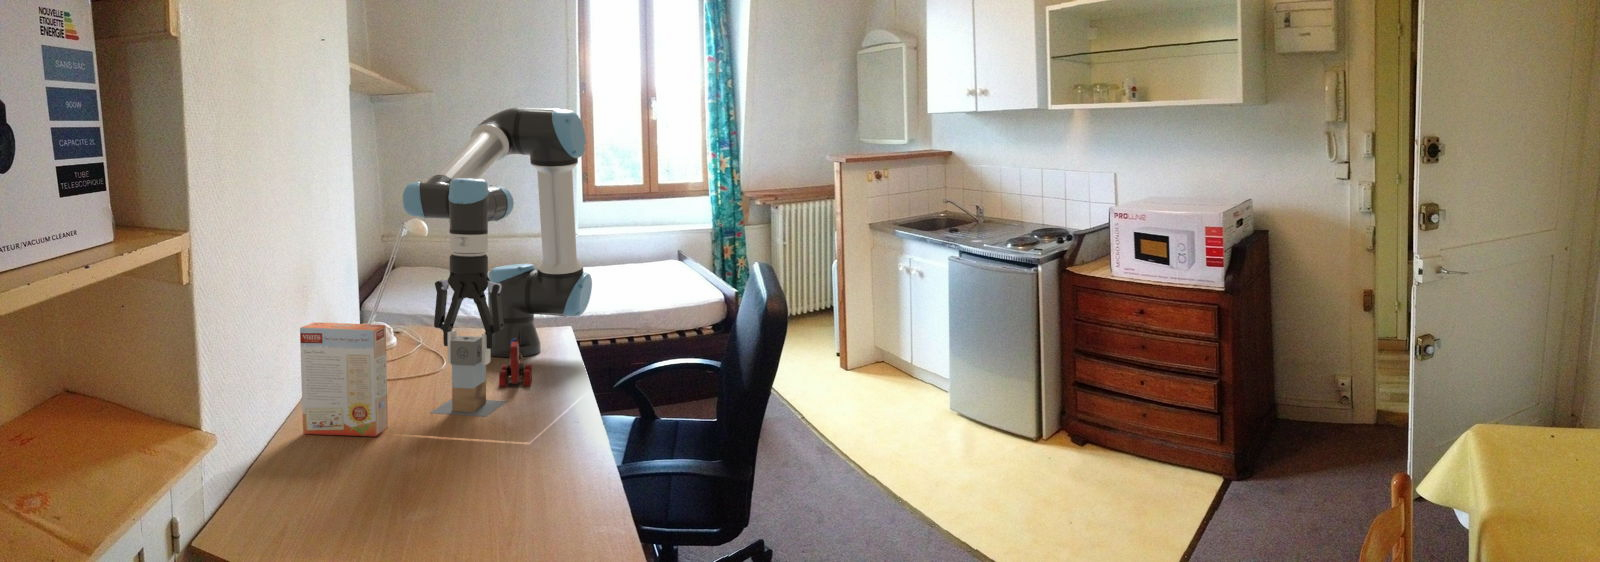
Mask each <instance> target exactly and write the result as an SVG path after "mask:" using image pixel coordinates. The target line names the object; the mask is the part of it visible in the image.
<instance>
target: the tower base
mask: <svg viewBox="0 0 1600 562" xmlns="http://www.w3.org/2000/svg"><path fill="white" fill-rule="evenodd" d="M451 399H452V411H464V412H474V411H475V410H477V409H478V408H480V407H481V406H483V405H484V404H486V400H487V380H486V381H484V382H483V383H481V384H480V385H478V386H476V387H475V388H473V389H470V388H454V387H452V386H451Z"/></svg>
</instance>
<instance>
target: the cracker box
mask: <svg viewBox="0 0 1600 562" xmlns="http://www.w3.org/2000/svg"><path fill="white" fill-rule="evenodd" d="M386 327H387V326H386V325H385V324H372V323H371V324H367V323H345V322H340V323H339V322H311V323H309V324H306V325H303V326H301V327H299V334H300V335H299V340H300V343H299V345H300V373H301V376H300V377H301V379H300V380H301V405H302V406H301V407H302V408H301V410H302V433H303V434H304V435H322V436H323V435H326V436H349V437H350V436H352V437H354V436H355V437H372V438H373V437H377V436H379V435H380V434H382V432H384V431H385V430H387V429H388V428H389V425H388V423H389V422H388V420H389V419H388V418H389V417H388V416H389V415H388V376H387V374H388V371H387V368H388V365H387V333H386V332H387V331H386V330H387V329H386Z"/></svg>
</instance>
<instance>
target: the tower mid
mask: <svg viewBox="0 0 1600 562" xmlns="http://www.w3.org/2000/svg"><path fill="white" fill-rule="evenodd" d="M484 381H486V382H487V365H482V361H481V362H479V363H478V364H476V365H475V366H473V365H452V364H451V388H452V387H454V388H470V389H473V388H475V387H476V386H478V385H480V384H481V383H483V382H484Z"/></svg>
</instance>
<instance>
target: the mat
mask: <svg viewBox="0 0 1600 562" xmlns="http://www.w3.org/2000/svg"><path fill="white" fill-rule="evenodd" d="M506 403H508V400H496V399H495V400H494V399H493V400H492V399H486V404H484V405H483V406H481V407H480V408H478V409H477V410H475V411H474V412H464V411H452V398H451V399H449V400H448V401H446V402H445V403H443V404H441V405H440V406H438V407H436V408H434V409H433V410H432V411H430V412H429V414H435V415H436V414H437V415H452V416H465V417H466V416H470V417H483V418H486V417H488V416H489V415H491V414H492V413H493V412H495V411H496V410H498V409H499V408H500V407H502V406H503V405H505V404H506Z"/></svg>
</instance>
